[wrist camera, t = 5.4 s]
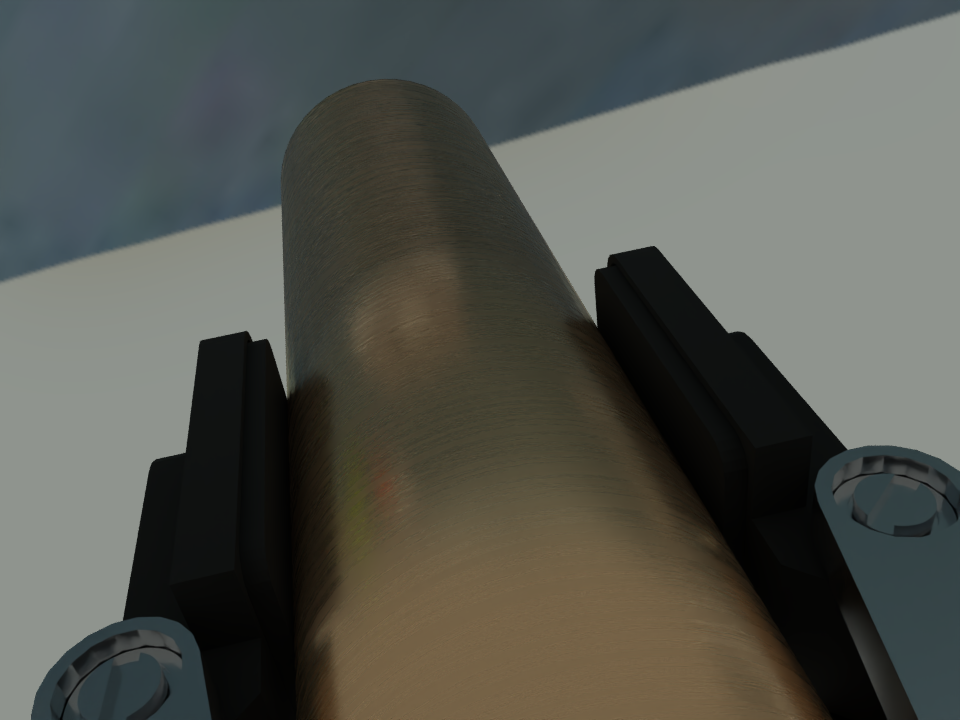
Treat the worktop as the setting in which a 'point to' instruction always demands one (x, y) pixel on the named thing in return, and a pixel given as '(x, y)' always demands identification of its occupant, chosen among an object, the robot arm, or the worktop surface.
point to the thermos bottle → (483, 459)
